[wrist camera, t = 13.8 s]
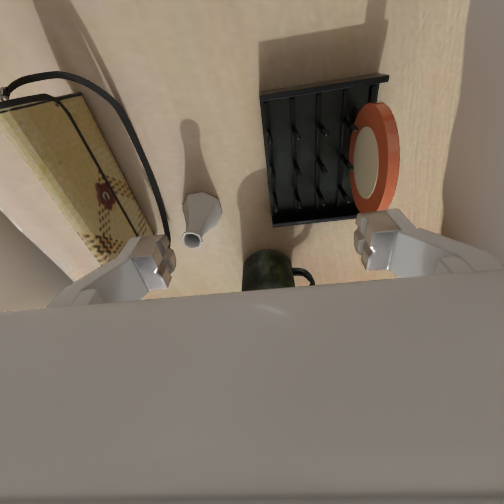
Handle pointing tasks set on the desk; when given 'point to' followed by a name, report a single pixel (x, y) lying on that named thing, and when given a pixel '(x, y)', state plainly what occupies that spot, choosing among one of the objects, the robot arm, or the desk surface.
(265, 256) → the mug
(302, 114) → the rack
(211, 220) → the flask
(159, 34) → the desk surface
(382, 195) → the plate
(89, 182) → the clutch purse
